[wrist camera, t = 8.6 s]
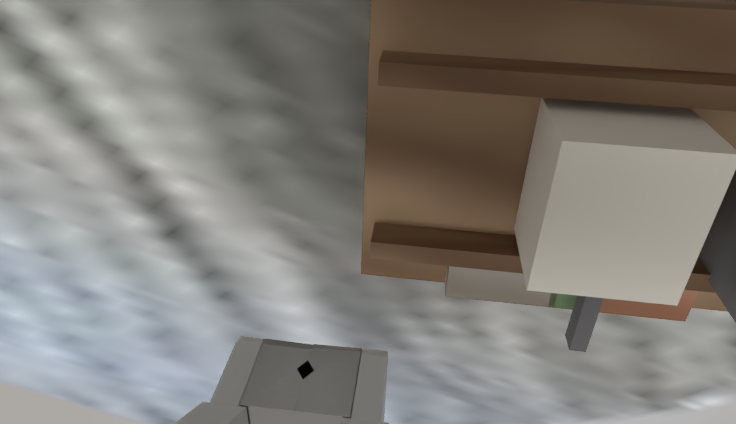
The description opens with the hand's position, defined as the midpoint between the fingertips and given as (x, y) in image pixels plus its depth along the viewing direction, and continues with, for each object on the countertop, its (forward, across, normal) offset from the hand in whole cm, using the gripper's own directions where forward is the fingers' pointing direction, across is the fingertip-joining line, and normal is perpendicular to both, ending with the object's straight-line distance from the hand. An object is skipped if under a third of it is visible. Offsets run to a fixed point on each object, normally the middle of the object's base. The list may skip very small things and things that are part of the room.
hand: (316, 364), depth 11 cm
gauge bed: (+14, -8, +1) cm, 16 cm away
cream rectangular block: (+11, -8, +3) cm, 14 cm away
